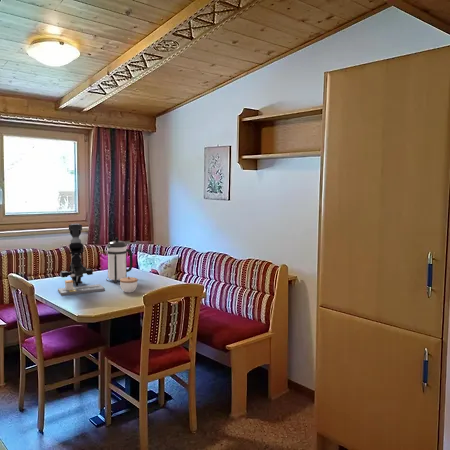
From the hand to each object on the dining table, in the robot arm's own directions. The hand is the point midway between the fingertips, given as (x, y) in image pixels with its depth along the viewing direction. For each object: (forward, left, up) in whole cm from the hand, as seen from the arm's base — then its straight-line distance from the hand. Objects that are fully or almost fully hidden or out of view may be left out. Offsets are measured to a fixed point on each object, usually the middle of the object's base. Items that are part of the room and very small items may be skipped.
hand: (76, 286), depth 283 cm
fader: (0, -5, -1) cm, 5 cm away
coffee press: (-18, +32, -3) cm, 37 cm away
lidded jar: (+14, +29, -3) cm, 32 cm away
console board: (0, +3, -3) cm, 4 cm away
